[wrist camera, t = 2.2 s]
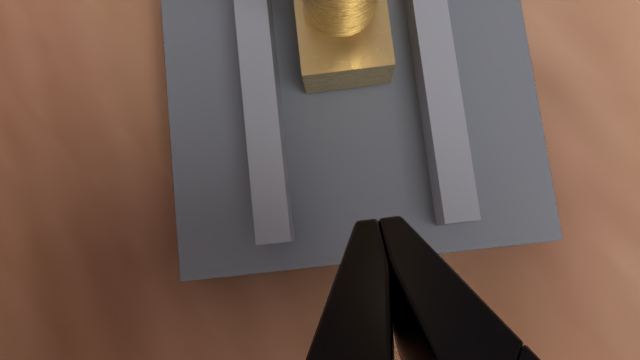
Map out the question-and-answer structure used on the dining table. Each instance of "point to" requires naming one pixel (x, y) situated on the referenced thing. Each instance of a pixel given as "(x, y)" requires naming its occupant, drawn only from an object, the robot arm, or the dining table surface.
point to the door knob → (344, 44)
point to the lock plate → (350, 137)
